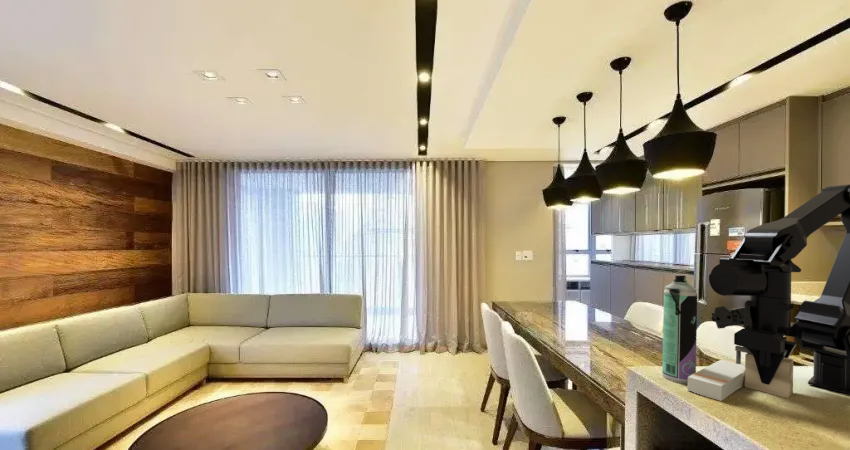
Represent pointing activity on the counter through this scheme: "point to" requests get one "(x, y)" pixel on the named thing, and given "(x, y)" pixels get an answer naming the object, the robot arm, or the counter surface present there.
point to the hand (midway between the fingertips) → (768, 381)
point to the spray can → (679, 330)
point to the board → (717, 380)
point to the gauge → (780, 381)
